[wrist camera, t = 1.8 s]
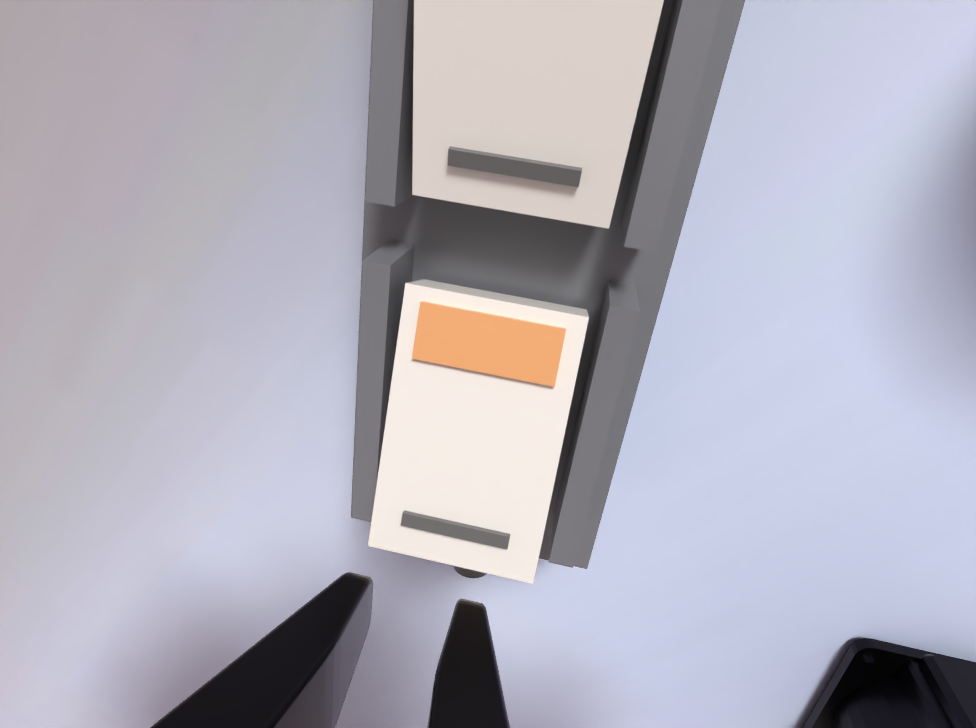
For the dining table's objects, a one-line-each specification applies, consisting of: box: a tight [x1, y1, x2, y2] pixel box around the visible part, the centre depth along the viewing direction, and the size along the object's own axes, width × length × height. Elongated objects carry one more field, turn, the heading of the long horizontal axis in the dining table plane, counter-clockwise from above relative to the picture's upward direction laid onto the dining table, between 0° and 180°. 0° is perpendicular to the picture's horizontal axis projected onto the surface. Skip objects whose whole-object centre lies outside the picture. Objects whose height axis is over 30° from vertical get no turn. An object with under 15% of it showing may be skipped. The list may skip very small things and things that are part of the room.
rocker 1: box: [368, 279, 589, 584], centre depth 14 cm, size 6×4×2 cm, turn 172°
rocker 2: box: [412, 0, 664, 229], centre depth 10 cm, size 6×4×2 cm, turn 173°
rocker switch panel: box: [351, 0, 745, 578], centre depth 14 cm, size 30×7×6 cm, turn 172°
